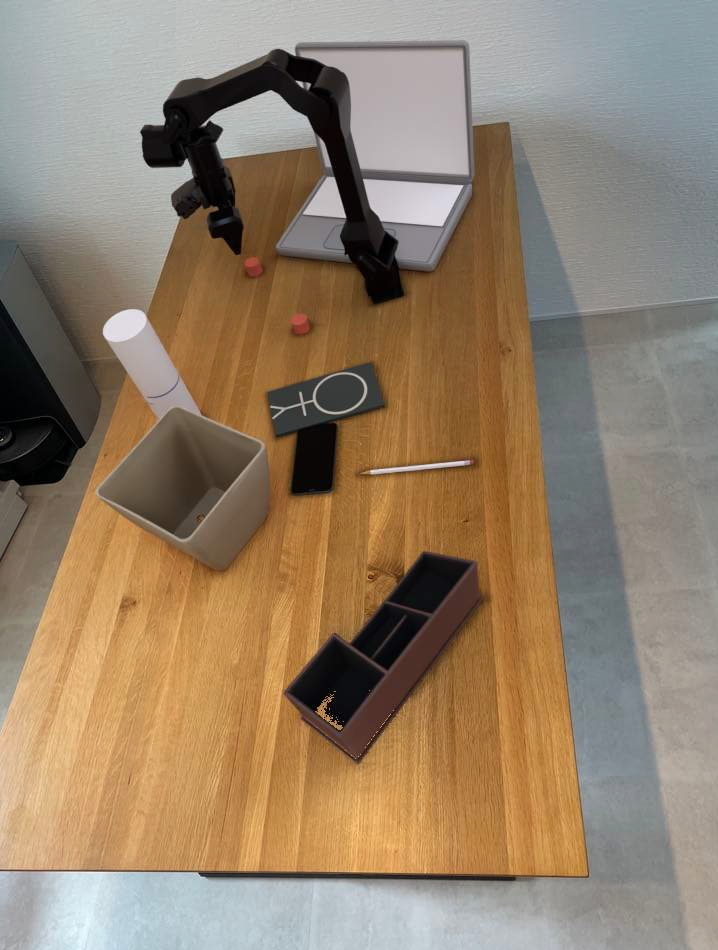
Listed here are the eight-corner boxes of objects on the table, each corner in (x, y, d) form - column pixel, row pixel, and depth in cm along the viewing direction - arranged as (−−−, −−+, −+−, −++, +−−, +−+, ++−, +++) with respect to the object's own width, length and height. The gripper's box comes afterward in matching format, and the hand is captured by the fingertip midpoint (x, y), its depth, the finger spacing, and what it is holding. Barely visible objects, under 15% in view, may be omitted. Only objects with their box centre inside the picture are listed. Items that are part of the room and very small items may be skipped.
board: (371, 364, 126) (370, 361, 125) (384, 407, 120) (383, 403, 119) (268, 394, 127) (266, 391, 126) (276, 438, 121) (274, 434, 120)
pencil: (474, 465, 110) (473, 462, 110) (360, 476, 113) (360, 474, 113) (473, 461, 111) (473, 458, 110) (360, 472, 114) (360, 470, 113)
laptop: (277, 257, 148) (232, 120, 124) (328, 179, 160) (296, 40, 135) (432, 275, 135) (416, 126, 111) (476, 189, 147) (470, 38, 123)
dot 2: (308, 321, 135) (305, 311, 133) (311, 331, 134) (308, 321, 132) (293, 325, 136) (289, 316, 133) (295, 336, 134) (292, 326, 132)
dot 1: (261, 265, 148) (258, 255, 146) (263, 274, 146) (259, 264, 144) (247, 269, 148) (243, 259, 146) (249, 278, 146) (245, 268, 144)
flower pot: (297, 506, 112) (267, 442, 98) (228, 598, 106) (185, 543, 91) (212, 467, 120) (173, 402, 106) (143, 550, 114) (91, 493, 99)
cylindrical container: (199, 445, 123) (136, 341, 102) (164, 444, 125) (95, 341, 104) (211, 415, 127) (152, 308, 106) (176, 414, 129) (112, 309, 108)
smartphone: (298, 428, 122) (290, 497, 114) (297, 425, 121) (289, 494, 113) (339, 424, 120) (334, 494, 113) (338, 421, 120) (332, 491, 112)
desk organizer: (300, 719, 93) (277, 693, 84) (426, 563, 102) (418, 523, 93) (358, 766, 89) (340, 744, 79) (485, 598, 98) (483, 560, 88)
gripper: (160, 151, 127) (192, 226, 140) (167, 206, 117) (201, 281, 130) (217, 133, 126) (244, 210, 140) (229, 186, 116) (256, 264, 129)
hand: (235, 240), depth 135 cm, fingers open, 9 cm apart
